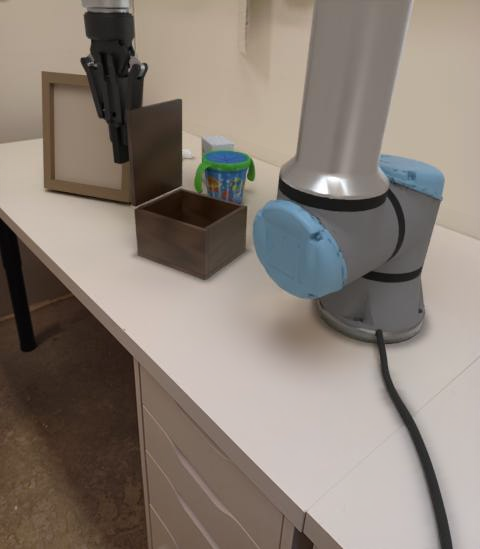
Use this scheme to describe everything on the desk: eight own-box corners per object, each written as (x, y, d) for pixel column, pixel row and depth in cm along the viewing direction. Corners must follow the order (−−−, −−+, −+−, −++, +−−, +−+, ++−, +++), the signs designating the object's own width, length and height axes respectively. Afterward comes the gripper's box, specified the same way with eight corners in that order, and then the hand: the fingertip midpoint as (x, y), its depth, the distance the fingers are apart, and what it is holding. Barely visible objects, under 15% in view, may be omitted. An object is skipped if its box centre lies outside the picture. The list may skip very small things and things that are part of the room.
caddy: (245, 250, 86) (247, 205, 82) (205, 280, 77) (205, 231, 73) (182, 230, 93) (180, 187, 88) (137, 255, 84) (133, 209, 79)
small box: (233, 187, 115) (234, 143, 110) (211, 189, 113) (211, 145, 108) (222, 176, 121) (223, 135, 116) (201, 178, 119) (201, 136, 114)
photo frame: (129, 206, 102) (117, 83, 90) (44, 192, 108) (22, 74, 95) (160, 185, 114) (154, 73, 102) (83, 173, 120) (68, 66, 107)
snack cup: (241, 187, 115) (242, 146, 109) (266, 202, 107) (269, 158, 102) (183, 199, 107) (182, 154, 102) (207, 215, 99) (207, 168, 94)
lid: (182, 99, 80) (178, 98, 80) (130, 111, 71) (126, 110, 71) (182, 186, 88) (179, 185, 88) (135, 207, 79) (131, 205, 79)
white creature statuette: (173, 166, 127) (172, 120, 121) (148, 160, 131) (145, 115, 125) (194, 157, 134) (193, 114, 128) (169, 152, 138) (167, 109, 132)
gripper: (157, 12, 73) (164, 163, 85) (96, 8, 78) (111, 150, 90) (122, 13, 67) (135, 174, 79) (59, 9, 73) (80, 159, 85)
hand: (122, 161), depth 85 cm, fingers closed
